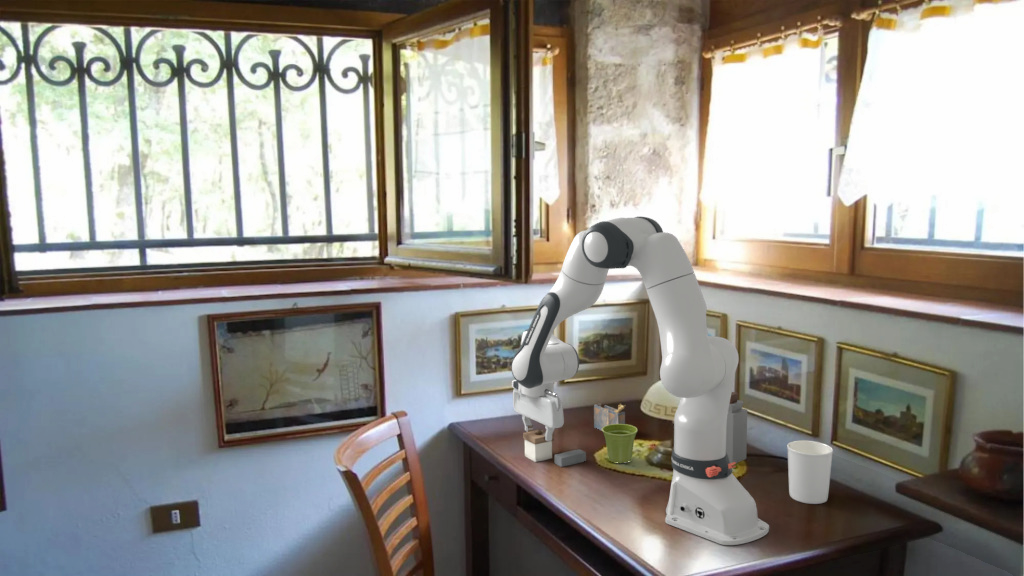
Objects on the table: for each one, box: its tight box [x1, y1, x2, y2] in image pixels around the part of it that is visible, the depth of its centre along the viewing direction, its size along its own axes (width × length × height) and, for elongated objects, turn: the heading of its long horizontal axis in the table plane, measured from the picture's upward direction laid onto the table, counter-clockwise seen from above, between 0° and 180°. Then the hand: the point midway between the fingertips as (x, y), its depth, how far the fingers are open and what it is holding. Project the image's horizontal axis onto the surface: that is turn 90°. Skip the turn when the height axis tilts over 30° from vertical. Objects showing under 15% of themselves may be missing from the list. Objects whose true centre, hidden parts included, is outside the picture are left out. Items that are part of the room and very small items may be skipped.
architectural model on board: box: [593, 403, 626, 432], centre depth 219 cm, size 11×3×10 cm, turn 32°
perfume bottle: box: [726, 391, 748, 464], centre depth 194 cm, size 7×7×18 cm
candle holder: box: [786, 439, 834, 505], centre depth 168 cm, size 10×10×12 cm
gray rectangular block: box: [554, 448, 587, 468], centre depth 194 cm, size 3×8×2 cm, turn 121°
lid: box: [522, 428, 555, 445], centre depth 198 cm, size 6×6×3 cm
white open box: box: [524, 439, 553, 463], centre depth 198 cm, size 5×5×5 cm
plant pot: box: [602, 423, 638, 464], centre depth 194 cm, size 9×9×9 cm
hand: (538, 435), depth 198 cm, fingers open, 8 cm apart
